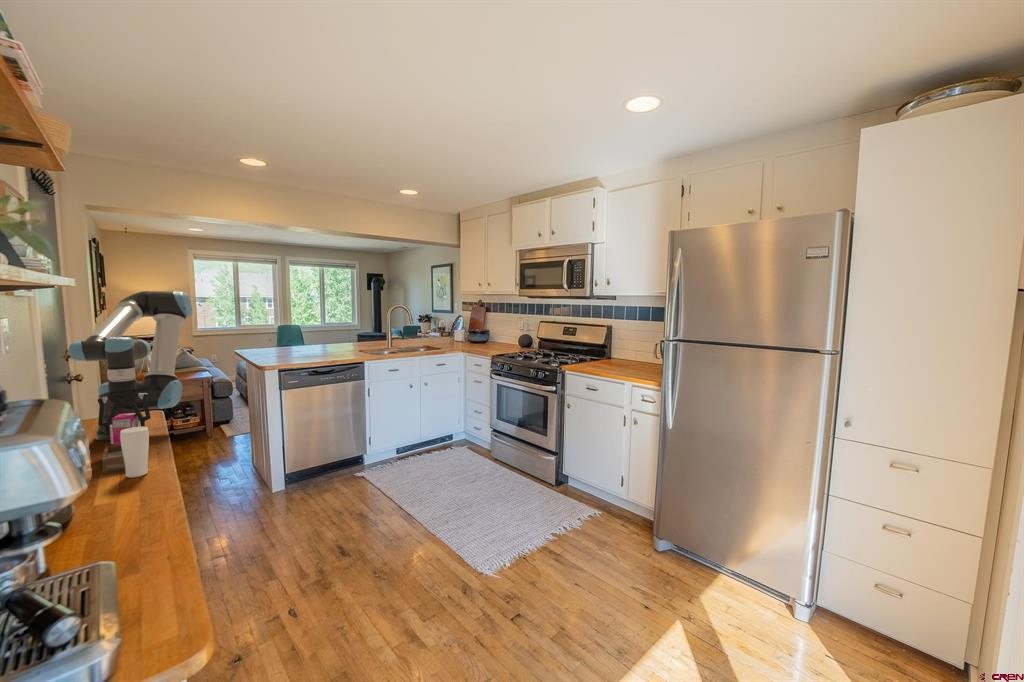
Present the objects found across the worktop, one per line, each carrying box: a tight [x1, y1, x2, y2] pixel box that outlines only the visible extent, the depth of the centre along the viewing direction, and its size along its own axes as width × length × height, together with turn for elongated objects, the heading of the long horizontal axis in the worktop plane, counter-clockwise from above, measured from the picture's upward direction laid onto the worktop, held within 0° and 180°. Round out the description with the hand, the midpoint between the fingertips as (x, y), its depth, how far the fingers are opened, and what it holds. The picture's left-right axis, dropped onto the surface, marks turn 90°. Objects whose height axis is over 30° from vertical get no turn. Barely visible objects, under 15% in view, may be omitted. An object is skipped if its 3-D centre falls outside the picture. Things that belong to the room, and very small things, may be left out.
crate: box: [101, 444, 126, 475], centre depth 147 cm, size 16×11×5 cm
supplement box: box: [112, 413, 138, 446], centre depth 158 cm, size 6×6×12 cm
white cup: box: [120, 426, 150, 479], centre depth 137 cm, size 7×7×15 cm
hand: (126, 440), depth 158 cm, fingers closed on supplement box, 7 cm apart
